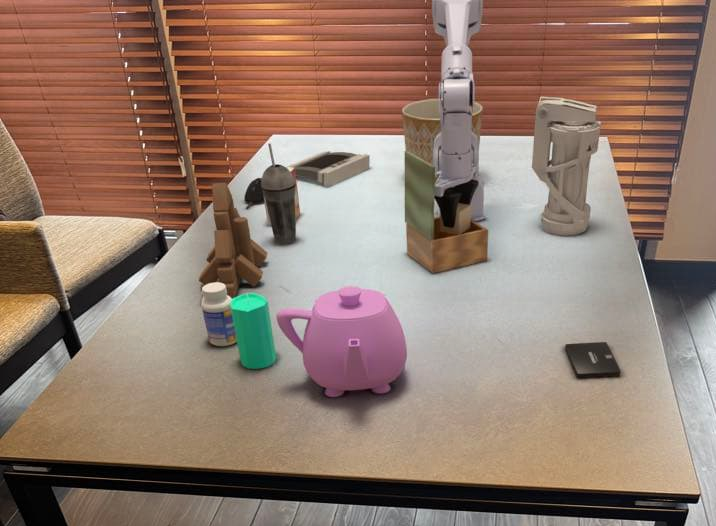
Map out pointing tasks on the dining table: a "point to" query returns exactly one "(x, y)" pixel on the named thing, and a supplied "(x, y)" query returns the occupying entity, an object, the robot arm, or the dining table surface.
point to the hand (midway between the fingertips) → (455, 222)
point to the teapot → (349, 340)
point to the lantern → (565, 161)
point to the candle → (253, 330)
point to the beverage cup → (280, 201)
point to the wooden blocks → (231, 246)
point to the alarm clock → (331, 166)
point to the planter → (429, 126)
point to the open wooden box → (448, 247)
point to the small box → (297, 208)
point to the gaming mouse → (254, 193)
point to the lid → (419, 194)
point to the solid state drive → (592, 359)
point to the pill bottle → (218, 314)
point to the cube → (459, 220)
